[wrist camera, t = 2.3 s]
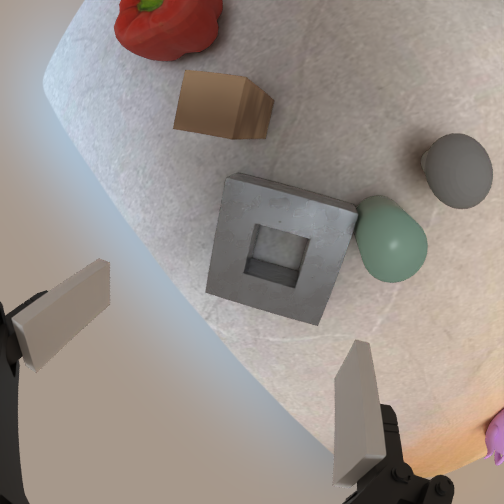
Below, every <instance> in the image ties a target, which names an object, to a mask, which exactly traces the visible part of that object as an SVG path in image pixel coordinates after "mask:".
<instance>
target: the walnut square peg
mask: <svg viewBox="0 0 504 504" xmlns="http://www.w3.org/2000/svg"><path fill="white" fill-rule="evenodd" d="M273 104H274V99H272V98H271V97H270V96H269V95H268V94H266V93H265V92H264V91H263V90H262V89H260V88H259V87H258V86H257V85H255V84H254V83H253V82H252V81H250V80H249V79H248V78H247V77H243V76H236V75H229V74H221V73H212V72H203V71H192V70H185V73H184V78H183V82H182V87H181V91H180V96H179V101H178V106H177V111H176V116H175V121H174V127H173V129H177V130H183V131H189V132H195V133H201V134H206V135H212V136H217V137H222V138H227V139H266V134H267V130H268V126H269V121H270V117H271V113H272V108H273Z"/></svg>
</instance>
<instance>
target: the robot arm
mask: <svg viewBox="0 0 504 504" xmlns="http://www.w3.org/2000/svg"><path fill="white" fill-rule="evenodd" d="M109 305H110V262H107V261H104V260H102V259H97V260H96V261H94V262H93V263H91V264H90V265H88V266H86V267H85V268H83V269H82V270H80V271H79V272H77V273H76V274H74V275H73V276H71V277H70V278H68V279H66V280H65V281H63V282H62V283H60V284H59V285H58V286H56V287H55V288H53V289H52V290H50V291H49V292H48V291H47V290H46V291H43V292H40V293H37V294H36V295H34V296H33V297H31V298H30V300H27V301H25V302H24V304H23V303H22V304H21V305H20V306H18V307H17V308H15V309H14V310H13V311H11V312H10V313H8V314H7V315H6V316H5V313H4V310H3V305H2V303H1V302H0V504H29V502H28V500H27V498H26V496H25V493H24V488H23V482H22V474H21V464H20V453H19V438H18V383H19V367H20V365H19V359H20V358H21V357H22V356H23V359H24V362H25V365H26V366H27V367H28V368H30V369H31V370H33V371H34V372H35V373H37V372H38V371H39V370H40V369H41V368H42V367H43V366H44V365H45V364H46V363H47V362H48V361H49V360H50V359H51V358H52V357H54V356H55V355H56V354H57V353H58V352H59V351H60V350H61V349H62V348H63V347H64V346H65V345H66V344H67V343H68V342H69V341H70V340H72V339H73V338H74V337H75V336H76V335H77V334H78V333H79V332H80V331H81V330H82V329H84V327H86V326H87V325H88V324H89V323H90V322H91V321H92V320H93V319H94V318H96V317H97V316H98V315H99V314H100V313H101V312H102V311H103V310H105V309H106V308H107V307H108V306H109ZM397 425H398V422H397V417H396V414H395V412H394V410H393V409H392V407H391V406H390V405H384V404H380V401H379V395H378V388H377V382H376V376H375V371H374V365H373V360H372V355H371V349H370V344H369V343H367V342H363V341H359V340H355V341H354V343H353V345H352V347H351V349H350V351H349V353H348V355H347V357H346V358H345V360H344V362H343V364H342V366H341V368H340V369H339V371H338V373H337V375H336V377H335V437H334V468H333V486H334V487H344V488H351V487H352V486H353V485H354V484H355V483H357V491H355V492H354V493H353V494H352V495H350V496H349V497H348V498H346V501H345V502H344V503H342V504H451V503H452V499H453V495H454V485H453V482H452V481H451V480H450V479H449V478H448V477H447V476H444V475H437V476H435V477H434V478H432V479H431V480H428V479H425V478H422V477H419V476H416V475H414V473H413V471H412V468H411V467H410V466H409V465H408V464H407V463H405V462H404V461H403V454H402V447H401V441H400V434H399V428H398V426H397Z"/></svg>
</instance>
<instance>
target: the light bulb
mask: <svg viewBox="0 0 504 504" xmlns="http://www.w3.org/2000/svg"><path fill="white" fill-rule="evenodd" d="M421 166H422V169H423V171H424V172H425V174H426V178H427V182H428V184H429V186H430V189H431V190H432V192H433V193H434V195H435V196H436V197H437V198H438V199H439V200H440V201H442V202H443V203H444V204H446V205H448V206H450V207H452V208H457V209H467V208H471V207H474V206H476V205H477V204H479V203H480V202H481V201H482V200H483V199H485V197H486V196H487V194H488V193H489V190H490V188H491V185H492V180H493V169H492V164H491V161H490V158H489V156H488V154H487V152H486V150H485V149H484V148H483V147H482V145H481V144H480V143H479V142H477V141H476V140H475V139H474V138H472V137H470V136H468V135H465V134H449V135H445V136H443V137H441V138H439V139H438V140H437V141H436V142H435V143H434V144H433V145H432V146H431V148H430V149H429V151H426V152H425V153H424V154H423V156H422V159H421Z"/></svg>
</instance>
